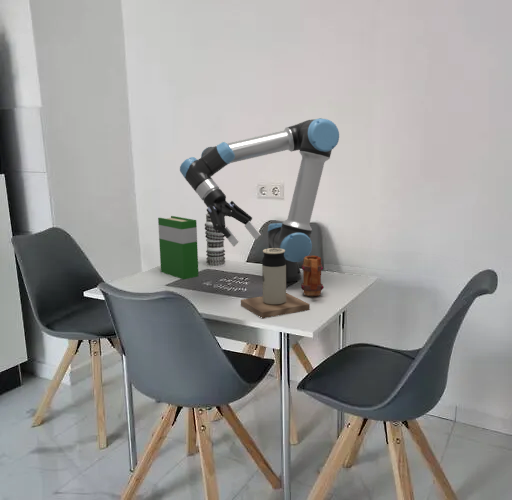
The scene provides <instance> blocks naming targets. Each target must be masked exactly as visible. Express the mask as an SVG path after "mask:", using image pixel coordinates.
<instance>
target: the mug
mask: <svg viewBox="0 0 512 500" xmlns="http://www.w3.org/2000/svg"><path fill="white" fill-rule="evenodd" d="M302 261H303V263H302V265H301V270H302V271H303V272H302V273H303V274H302V275H303V282H302V283H301V284H300V286H301V290H302V291H303V295H304V296H306V297H319V296H321V294H322V290H323V289H325V287H324V285H323V283H322V271H323V269H324V267H323V264H322V257H320V256H318V255H309V256H305V258H304V260H302Z"/></svg>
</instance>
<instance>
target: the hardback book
mask: <svg viewBox="0 0 512 500" xmlns="http://www.w3.org/2000/svg"><path fill="white" fill-rule="evenodd" d="M157 221H158V240H159V258H160V259H159V262H160V272H161V273H162V274H166V275H168V276H172V277H175V278H179V279H181V280H189V279H194V278H196V277H199V255H198V229H197V219H193V218H192V219H191V218H186V217H180V216H174V215H171V216H170V217H169V218H165V217H158V218H157Z"/></svg>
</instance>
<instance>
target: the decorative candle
mask: <svg viewBox="0 0 512 500" xmlns="http://www.w3.org/2000/svg"><path fill="white" fill-rule="evenodd" d="M205 217H206V218H205V219H206V221H205V223H204V230H205V232H204V233H205V236H204V237H205V238H206V239H205V241H206V251H205V252H206V256H207V257H206V267H208V268H223V267H225V266H226V257H225V255H226V253H225V252H226V250H225V245H224V241H225V238H226V237H225V236H224V234H223V233H222V232H221V233H218V232H217V231H218V230H217V231H215V230H214V227H213V224H212V221H211V218H210V215H209V213H208V212H207V213H206V214H205Z"/></svg>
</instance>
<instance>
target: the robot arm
mask: <svg viewBox="0 0 512 500" xmlns="http://www.w3.org/2000/svg"><path fill="white" fill-rule="evenodd" d="M339 140H340V131H339V129H338V127H337V125H336V124H335V123H334V122H333V121H332V120H330V119H327V118H322V117H321V118H315V119H308V120H305V121H302V122H299V123H297V124H294V125H293V124H292V125H291V126H286V127H285V128H284V130H279V131H275V132H272V133H267V134H263V135H259V136H254V137H250V138H246V139H240V140H237V141H232V142H225V141H222V142H221V143H219V144H216V145H215V146H207V147H206V148H205V149H204V150H202V152H201V155H200V158H198V159H197V158H196V157H193V156H191V157H189V158H186V159H184V161H183V162H182V163H181V164H180V166H179V171H180V173H181V175H182V177H183V178H184V179H185V181H186V182H187V183H188V184H189V185H190V186H191V188H192V189H193V190H194V191H195V193H196V194H197V195H198V197H199V198H200V200H201V201H202V202H203V203H204V205H205V206H206V207H207V208H206V212H207V213H209V215H210V218H211V221H212V224H213V227H214V230H215V231H217V230H218V231H217V232H218V233H221V232H222V233H223V235H224V236H225V237H224V238H226V239H227V240H228V242H229V243H230V244H231V246H232V247H236V245H237V244H238V243H240V240H239V239H238V238H237V236H236V235H235V234H234V232H233V231H232V230H231V228H229V226H226V220H225V219H226V217H229V218H233V219H235V220H237V221H239V222H240V223H241V224H243V225H244V227H245V229H246V230H247V231H248V232H249V234H250V235H251V236H252V237H253V239H254V240H255V241H256V240H258V239H259V238H260V237H261V235H262V234H261V233H260V232H259V230H258V229H257V228H256V226H255V225H254V224H253V222H252V220H253V216H251V215H250V214H248V213H247V212H246V211H245V210H244V209H242V208H241V207H240V206H238V205H237V204H236V203H235V202H234V201H233V200H231V201H229V202H228V201H227V200H226V199H227V196H226V195H225V193H224V192H223V191H222V189H221V188H220V186H219V185H218V184H217V183H216V182H215V180H214V179H213V178H212V176H214V175H216V173H218V172H219V171H221V170H222V169H223V168H225V167H226V166H228V165H229V164H232V163H236V162H241V161H245V160H250V159H254V158H259V157H262V156H267V155H273V154H277V153H280V152H284V151H290V152H291V153H292V152H295V151H299V154H300V155H301V161H300V165H299V170H298V173H297V179H296V181H295V187H294V189H293V190H294V191H293V194H292V199H291V203H290V207H289V211H288V215H287V219H285V220H284V221H282V222H276V223H275V222H273V223H269V224H268V226H267V249H269V248H280V249H284V250H285V252H284V257H285V259H286V283H292V282H297V281H299V280H301V278H302V277H301V275H302V273H301V269H300V266H299V263H300V262H302V261H304V258H305V256H310V254H311V253H312V248H313V243H312V240H311V236H312V232H313V228H312V227H311V225H310V223H311V218H312V215H313V211H314V208H315V202H316V198H317V194H318V192H319V191H318V190H319V186H320V183H321V177H322V174H323V170H324V166H325V163H326V162H327V161H328V160H330V159H331V155H332V150H334V148H335V147H336V146H337V145H338V143H339Z"/></svg>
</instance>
